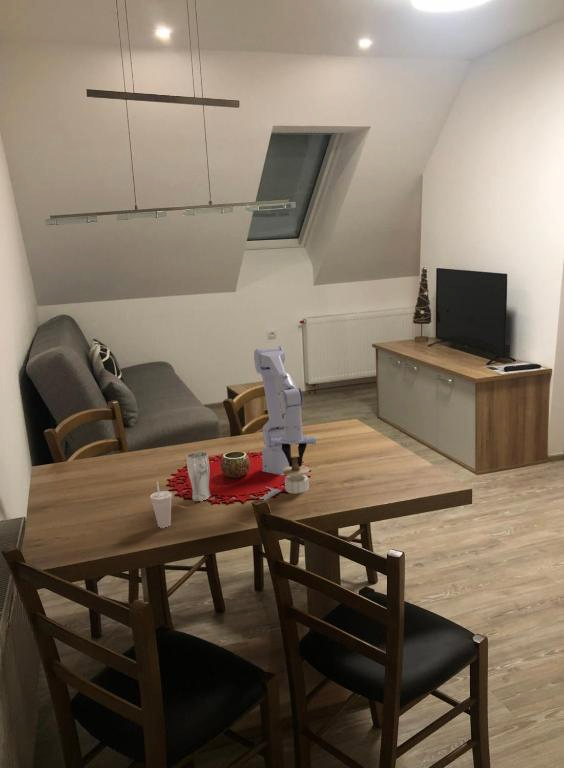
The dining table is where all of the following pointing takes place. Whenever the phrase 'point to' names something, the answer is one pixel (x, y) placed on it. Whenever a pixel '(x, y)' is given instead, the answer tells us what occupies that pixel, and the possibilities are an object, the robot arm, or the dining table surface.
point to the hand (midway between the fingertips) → (295, 465)
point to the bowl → (296, 484)
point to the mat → (270, 493)
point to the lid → (295, 468)
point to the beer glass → (199, 475)
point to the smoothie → (162, 507)
